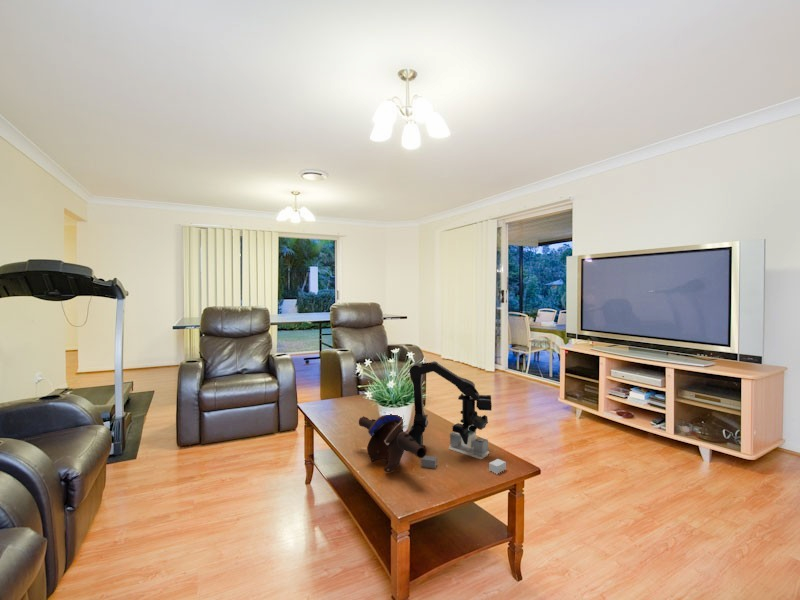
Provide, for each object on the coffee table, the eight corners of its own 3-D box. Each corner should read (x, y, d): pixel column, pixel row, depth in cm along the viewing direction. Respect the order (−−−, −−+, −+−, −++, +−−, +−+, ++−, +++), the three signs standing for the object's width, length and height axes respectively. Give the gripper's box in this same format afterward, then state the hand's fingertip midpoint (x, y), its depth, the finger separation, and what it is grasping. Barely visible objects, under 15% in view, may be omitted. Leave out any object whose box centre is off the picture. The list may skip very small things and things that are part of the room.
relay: (435, 469, 160) (435, 460, 160) (421, 467, 161) (421, 459, 161) (436, 464, 164) (436, 456, 164) (423, 463, 165) (423, 455, 165)
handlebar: (349, 451, 177) (349, 408, 177) (372, 444, 185) (372, 403, 184) (409, 491, 142) (409, 438, 141) (435, 481, 150) (435, 430, 149)
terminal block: (497, 474, 155) (497, 466, 154) (489, 471, 158) (489, 462, 158) (506, 470, 158) (506, 462, 158) (498, 466, 161) (498, 458, 161)
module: (461, 445, 176) (461, 432, 176) (466, 442, 179) (466, 429, 179) (470, 448, 173) (470, 435, 172) (475, 445, 176) (476, 432, 176)
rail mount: (481, 459, 168) (481, 443, 168) (449, 448, 179) (449, 433, 179) (489, 454, 173) (489, 438, 173) (457, 444, 184) (457, 429, 184)
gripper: (473, 418, 163) (473, 454, 164) (494, 407, 177) (494, 441, 178) (451, 412, 171) (451, 447, 171) (473, 403, 184) (473, 435, 185)
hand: (468, 442), depth 176 cm, fingers closed on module, 4 cm apart
